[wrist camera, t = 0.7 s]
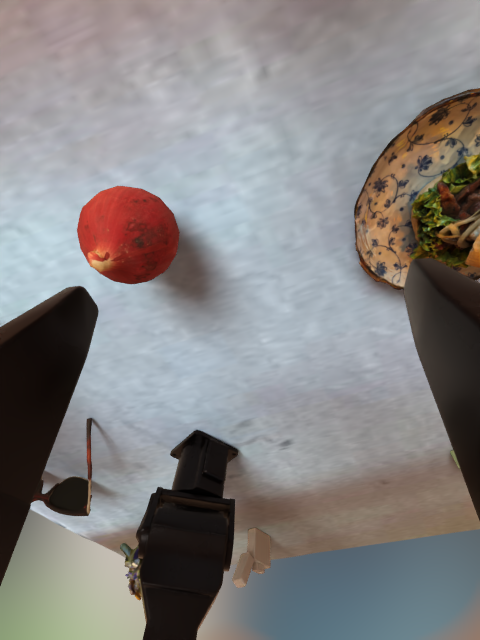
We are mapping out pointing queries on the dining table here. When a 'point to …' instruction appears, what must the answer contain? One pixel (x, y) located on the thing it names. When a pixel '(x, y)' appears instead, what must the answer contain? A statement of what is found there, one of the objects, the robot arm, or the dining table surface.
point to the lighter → (253, 557)
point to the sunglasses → (70, 490)
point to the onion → (128, 234)
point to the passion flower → (133, 569)
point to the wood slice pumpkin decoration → (424, 195)
